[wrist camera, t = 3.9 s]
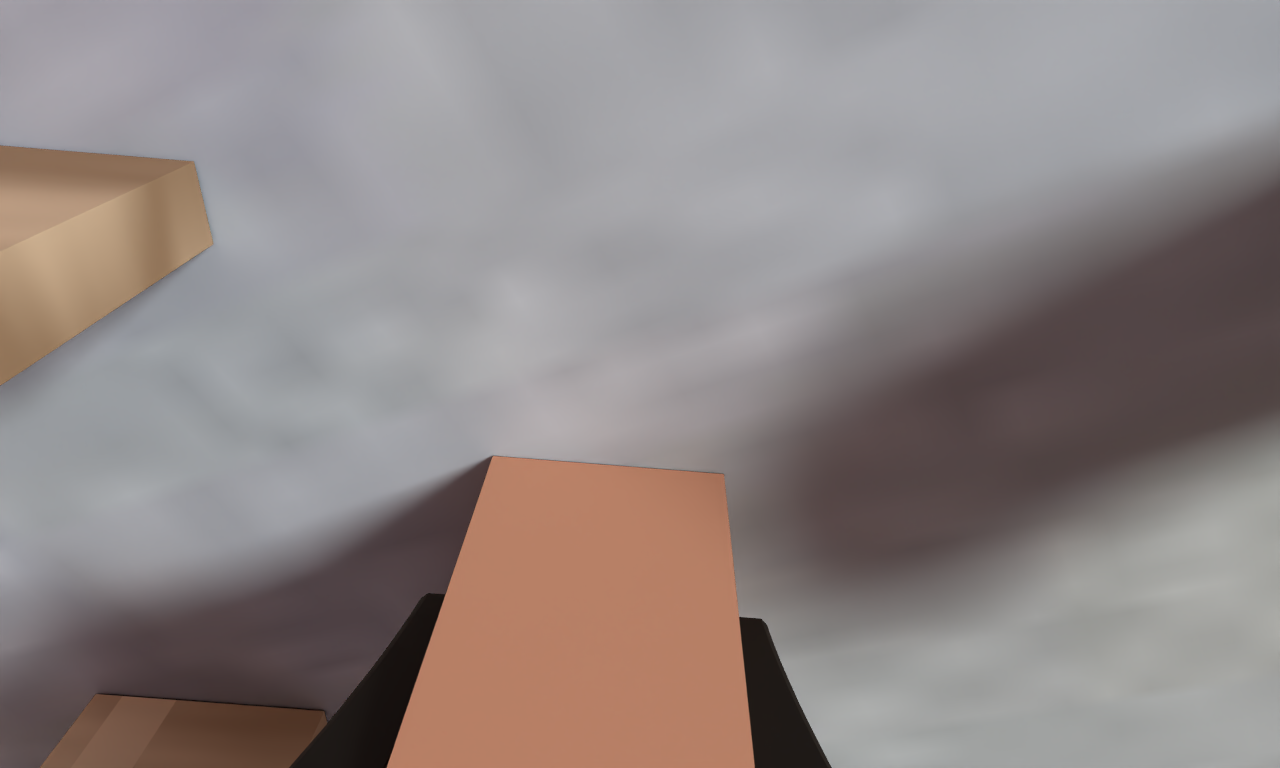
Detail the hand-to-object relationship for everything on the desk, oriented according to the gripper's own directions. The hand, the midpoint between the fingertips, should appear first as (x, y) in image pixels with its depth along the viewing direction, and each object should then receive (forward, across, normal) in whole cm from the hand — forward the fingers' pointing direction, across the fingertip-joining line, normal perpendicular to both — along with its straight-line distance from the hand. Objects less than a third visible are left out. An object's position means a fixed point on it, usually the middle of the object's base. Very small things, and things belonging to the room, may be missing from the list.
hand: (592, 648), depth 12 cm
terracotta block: (+2, 0, 0) cm, 2 cm away
